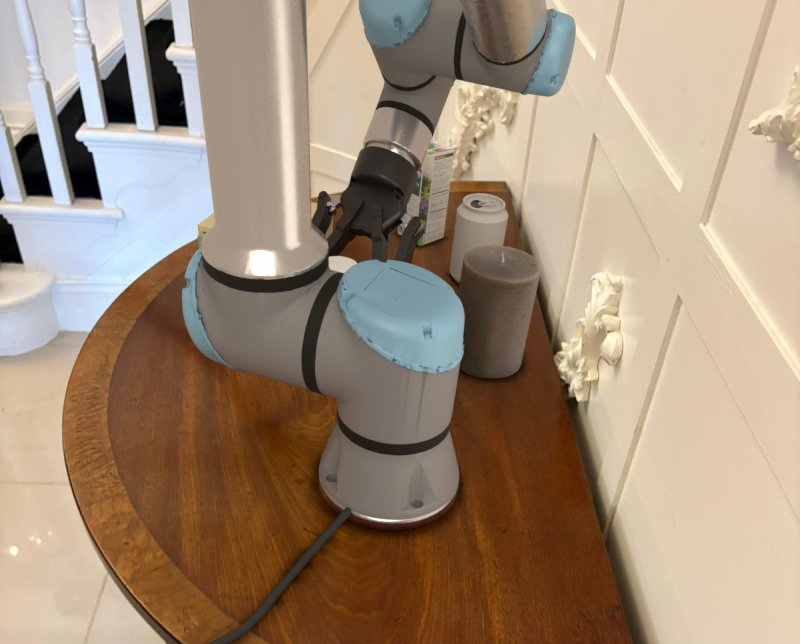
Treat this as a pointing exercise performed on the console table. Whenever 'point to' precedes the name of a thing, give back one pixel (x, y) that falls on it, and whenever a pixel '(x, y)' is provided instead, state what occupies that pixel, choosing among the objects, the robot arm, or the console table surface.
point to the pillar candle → (496, 308)
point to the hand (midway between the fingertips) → (323, 341)
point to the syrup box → (432, 192)
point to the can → (477, 227)
